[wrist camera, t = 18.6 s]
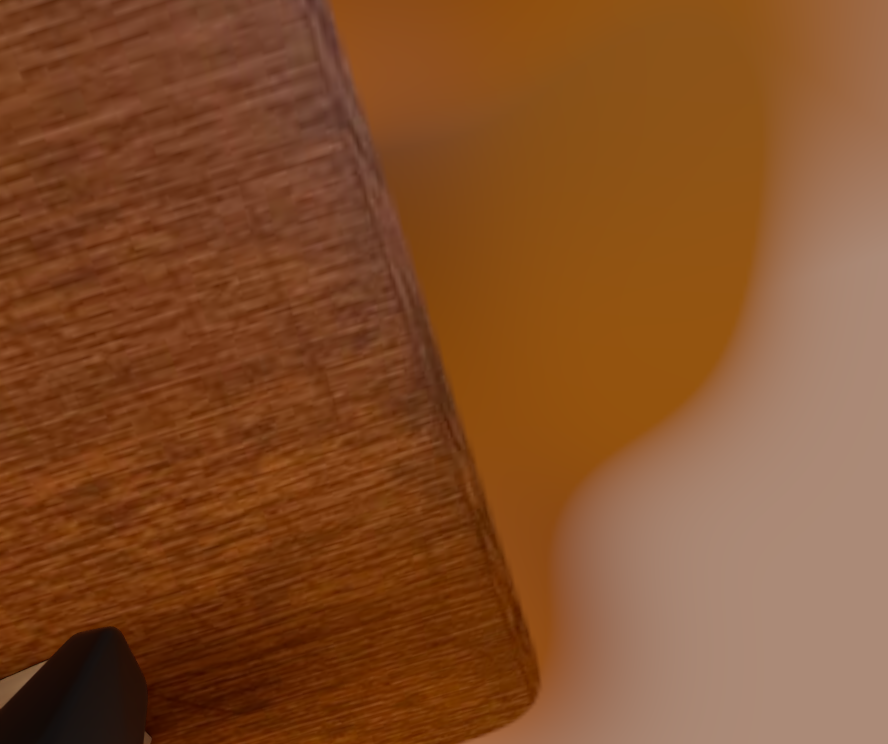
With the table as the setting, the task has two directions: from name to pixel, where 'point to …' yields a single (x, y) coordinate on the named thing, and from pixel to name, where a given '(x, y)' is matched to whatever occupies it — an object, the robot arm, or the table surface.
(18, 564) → the table surface
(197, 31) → the table surface
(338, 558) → the table surface
